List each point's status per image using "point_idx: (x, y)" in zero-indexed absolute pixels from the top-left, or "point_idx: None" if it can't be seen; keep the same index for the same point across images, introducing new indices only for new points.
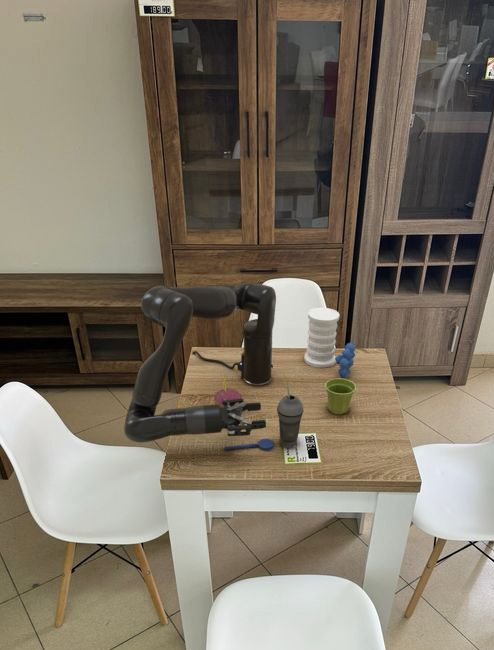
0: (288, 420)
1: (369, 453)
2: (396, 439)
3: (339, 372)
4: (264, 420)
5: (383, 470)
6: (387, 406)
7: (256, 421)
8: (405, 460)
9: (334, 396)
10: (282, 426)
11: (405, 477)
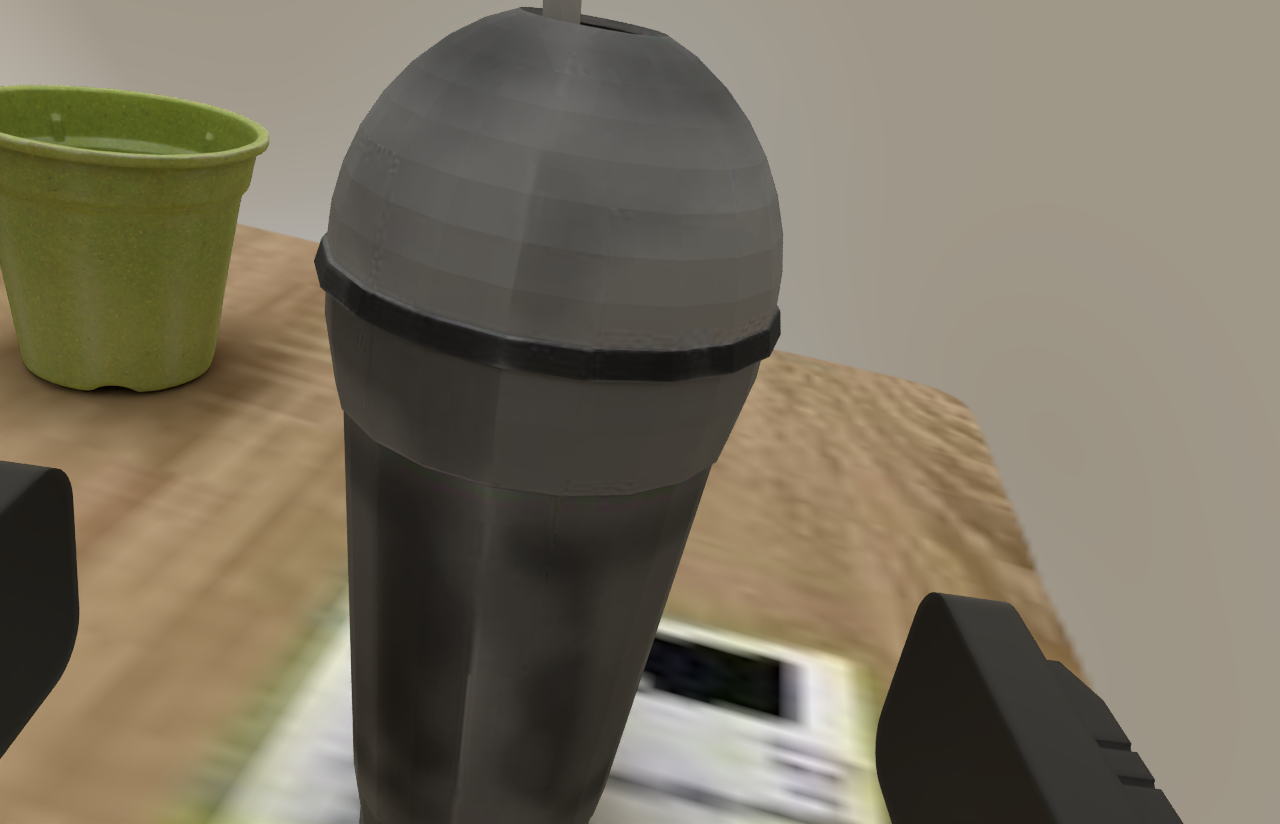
0: (736, 416)
1: (736, 427)
2: None
3: None
4: (978, 600)
5: (911, 440)
6: (273, 244)
7: (1089, 776)
8: (807, 362)
9: (183, 201)
10: (615, 601)
11: (959, 406)
